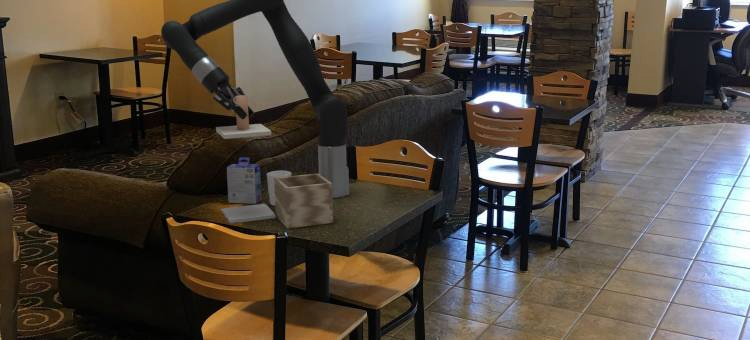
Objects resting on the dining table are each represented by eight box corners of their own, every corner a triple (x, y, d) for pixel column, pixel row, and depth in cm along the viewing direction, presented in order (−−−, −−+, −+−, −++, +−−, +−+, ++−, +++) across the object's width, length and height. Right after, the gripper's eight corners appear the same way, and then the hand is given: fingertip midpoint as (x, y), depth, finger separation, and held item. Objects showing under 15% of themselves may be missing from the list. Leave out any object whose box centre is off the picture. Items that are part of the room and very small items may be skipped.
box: (319, 210, 254) (318, 173, 251) (333, 222, 241) (332, 183, 238) (275, 216, 249) (274, 178, 246) (287, 228, 236) (285, 188, 233)
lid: (260, 127, 254) (259, 91, 251) (271, 135, 241) (269, 97, 238) (216, 131, 249) (213, 94, 246) (224, 138, 236) (222, 100, 234)
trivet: (265, 206, 260) (265, 203, 259) (275, 217, 247) (275, 214, 247) (221, 211, 255) (221, 208, 255) (229, 223, 242) (229, 220, 242)
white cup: (296, 201, 266) (295, 171, 263) (286, 207, 258) (284, 176, 256) (274, 199, 268) (273, 170, 266) (264, 205, 261) (262, 175, 259)
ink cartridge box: (262, 200, 268) (260, 157, 265) (256, 204, 263) (254, 160, 259) (234, 199, 270) (231, 156, 267) (228, 203, 265) (225, 159, 261)
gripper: (205, 68, 236) (244, 111, 235) (229, 63, 249) (266, 104, 248) (190, 86, 239) (229, 128, 238) (215, 80, 252) (252, 120, 251)
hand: (248, 116), depth 243 cm, fingers closed on lid, 3 cm apart
